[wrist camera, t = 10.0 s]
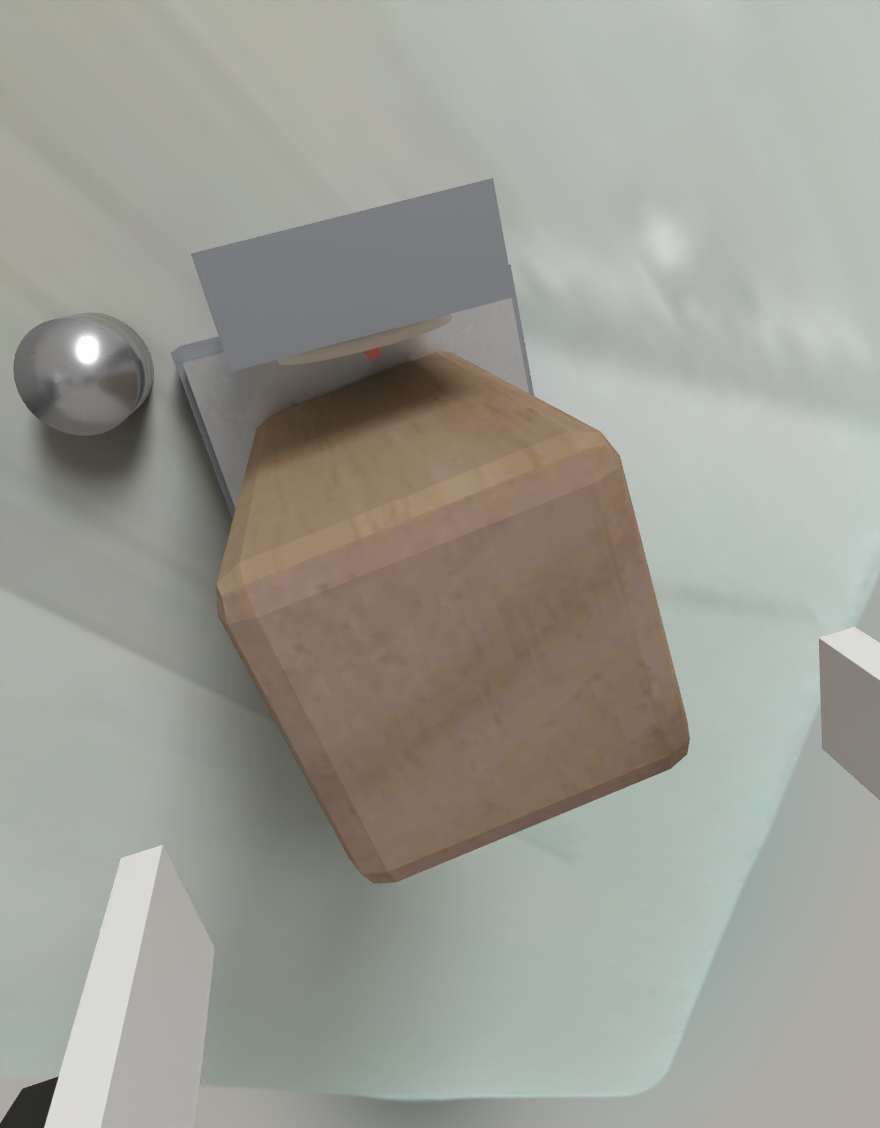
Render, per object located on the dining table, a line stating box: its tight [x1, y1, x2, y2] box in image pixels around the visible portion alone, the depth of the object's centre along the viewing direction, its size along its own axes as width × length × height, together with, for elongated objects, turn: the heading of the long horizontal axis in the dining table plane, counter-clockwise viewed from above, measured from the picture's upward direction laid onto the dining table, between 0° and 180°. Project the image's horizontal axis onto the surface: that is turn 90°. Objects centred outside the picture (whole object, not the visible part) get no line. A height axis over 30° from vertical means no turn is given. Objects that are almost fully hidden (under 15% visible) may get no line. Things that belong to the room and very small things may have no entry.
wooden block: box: [216, 352, 690, 883], centre depth 27 cm, size 10×10×20 cm
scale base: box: [171, 178, 534, 520], centre depth 31 cm, size 16×19×18 cm
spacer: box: [14, 313, 154, 436], centre depth 34 cm, size 5×5×4 cm
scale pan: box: [183, 298, 529, 509], centre depth 38 cm, size 15×15×4 cm
